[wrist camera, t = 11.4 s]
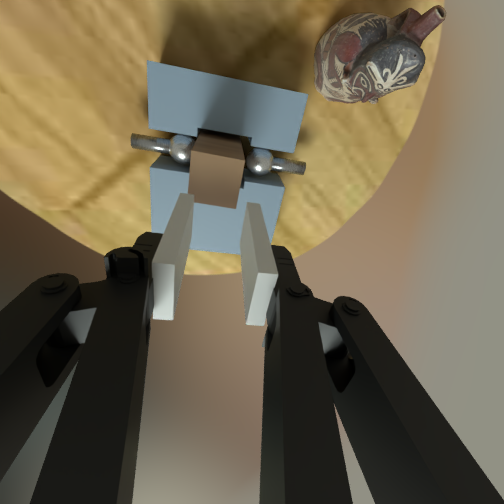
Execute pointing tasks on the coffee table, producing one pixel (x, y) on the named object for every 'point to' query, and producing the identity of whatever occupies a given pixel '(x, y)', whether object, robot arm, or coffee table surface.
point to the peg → (216, 168)
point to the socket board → (223, 120)
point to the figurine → (372, 54)
